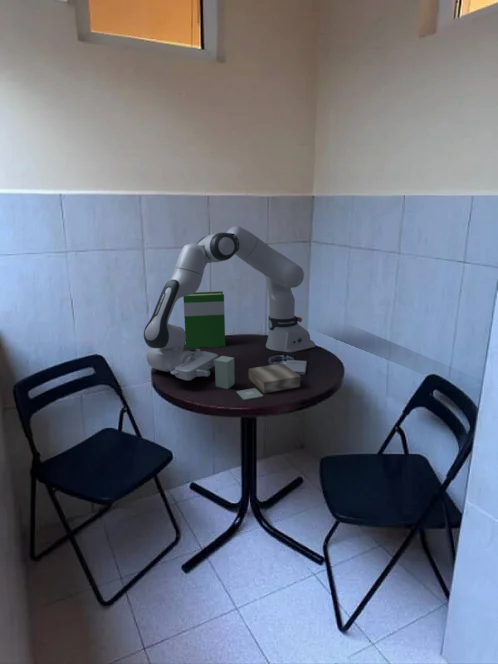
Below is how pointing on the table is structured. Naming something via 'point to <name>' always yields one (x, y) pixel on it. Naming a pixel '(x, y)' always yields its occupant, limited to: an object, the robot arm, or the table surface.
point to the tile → (249, 394)
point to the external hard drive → (297, 366)
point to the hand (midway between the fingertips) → (216, 369)
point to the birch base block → (274, 378)
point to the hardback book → (204, 319)
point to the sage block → (224, 372)
